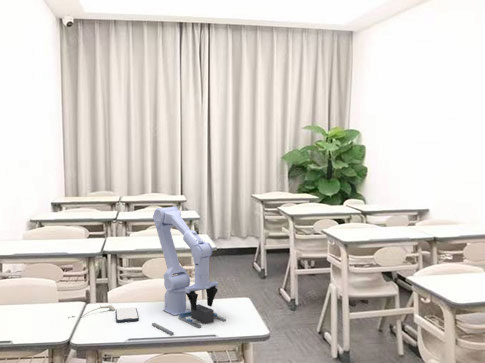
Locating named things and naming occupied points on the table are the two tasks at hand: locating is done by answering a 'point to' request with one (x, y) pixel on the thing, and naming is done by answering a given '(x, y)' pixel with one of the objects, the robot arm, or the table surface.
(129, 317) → the phone case
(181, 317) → the silver and blue frame
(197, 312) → the dark grey block
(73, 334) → the table surface
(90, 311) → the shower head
